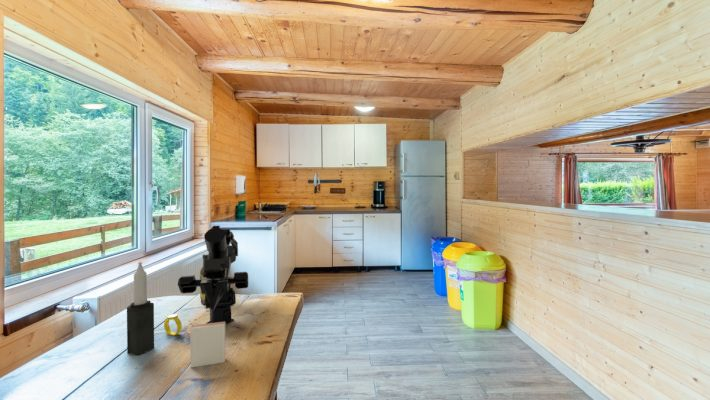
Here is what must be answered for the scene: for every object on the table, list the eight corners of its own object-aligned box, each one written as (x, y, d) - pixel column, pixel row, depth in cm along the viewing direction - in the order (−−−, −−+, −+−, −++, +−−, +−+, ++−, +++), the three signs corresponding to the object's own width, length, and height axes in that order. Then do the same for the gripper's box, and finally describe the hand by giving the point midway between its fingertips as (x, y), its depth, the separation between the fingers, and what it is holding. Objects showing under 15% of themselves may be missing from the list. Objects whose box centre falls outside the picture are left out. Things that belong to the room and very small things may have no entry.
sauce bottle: (203, 299, 123) (202, 251, 123) (219, 298, 124) (219, 251, 124) (197, 305, 117) (197, 255, 116) (214, 304, 118) (214, 254, 117)
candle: (156, 347, 85) (155, 260, 85) (138, 356, 81) (137, 264, 80) (143, 344, 87) (142, 259, 86) (125, 352, 82) (124, 263, 82)
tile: (192, 363, 78) (192, 325, 77) (225, 358, 80) (225, 321, 80) (190, 367, 76) (190, 328, 75) (224, 362, 78) (224, 324, 78)
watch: (162, 335, 93) (161, 316, 93) (170, 331, 96) (169, 313, 96) (176, 337, 91) (175, 318, 91) (184, 333, 94) (183, 314, 94)
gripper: (179, 248, 85) (168, 300, 75) (247, 245, 91) (246, 292, 81) (185, 269, 93) (176, 318, 83) (248, 265, 99) (247, 310, 89)
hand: (212, 309), depth 84 cm, fingers closed
